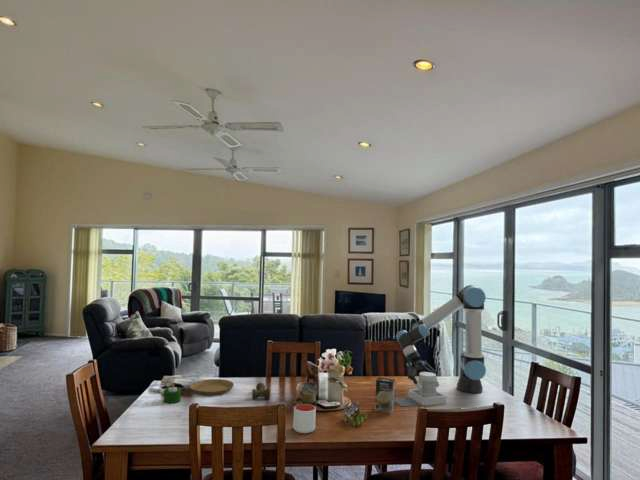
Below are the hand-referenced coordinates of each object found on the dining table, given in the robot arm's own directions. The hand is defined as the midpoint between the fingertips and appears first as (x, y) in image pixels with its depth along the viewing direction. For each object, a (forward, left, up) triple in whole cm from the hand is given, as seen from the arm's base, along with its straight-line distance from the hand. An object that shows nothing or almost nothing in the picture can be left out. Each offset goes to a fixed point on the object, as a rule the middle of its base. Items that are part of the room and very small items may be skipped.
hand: (429, 387), depth 243 cm
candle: (+136, -33, -8) cm, 140 cm away
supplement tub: (0, -2, -8) cm, 8 cm away
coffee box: (+32, +7, -8) cm, 34 cm away
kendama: (+89, -29, -8) cm, 94 cm away
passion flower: (+54, +18, -8) cm, 58 cm away
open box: (0, -2, -7) cm, 8 cm away
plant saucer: (+114, -47, -8) cm, 124 cm away
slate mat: (+14, -2, -7) cm, 16 cm away
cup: (+80, +20, -8) cm, 83 cm away
